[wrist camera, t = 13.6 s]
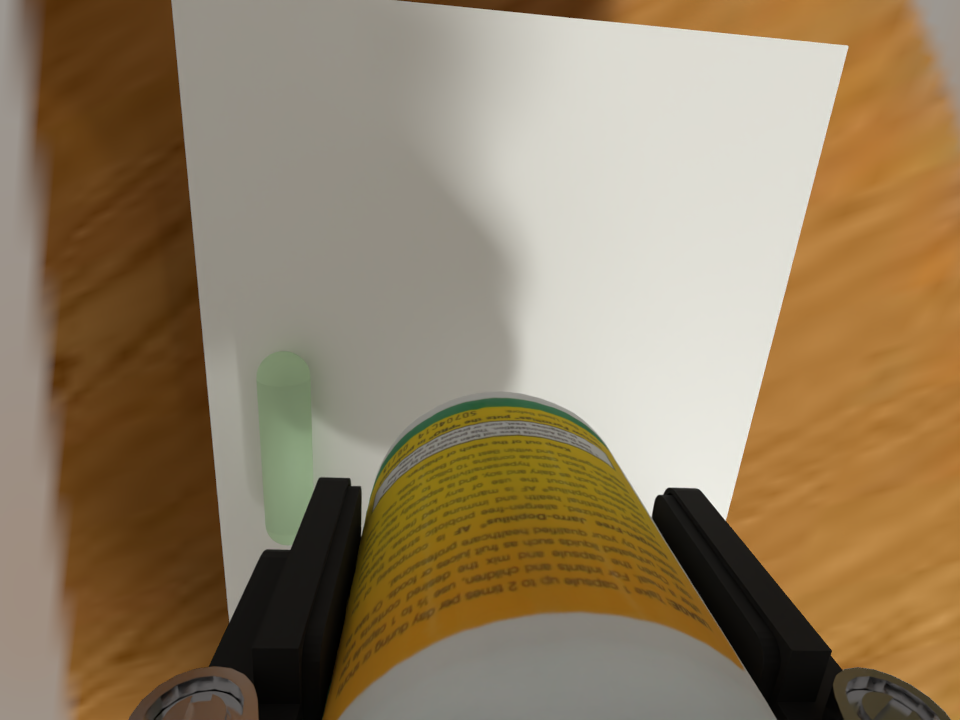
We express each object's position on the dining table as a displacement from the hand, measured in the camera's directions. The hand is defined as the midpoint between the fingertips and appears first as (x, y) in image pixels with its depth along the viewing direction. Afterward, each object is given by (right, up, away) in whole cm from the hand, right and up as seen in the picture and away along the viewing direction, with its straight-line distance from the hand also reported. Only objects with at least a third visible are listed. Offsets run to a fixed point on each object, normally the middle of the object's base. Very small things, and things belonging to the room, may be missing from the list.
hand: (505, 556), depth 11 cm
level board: (0, +2, +6) cm, 6 cm away
